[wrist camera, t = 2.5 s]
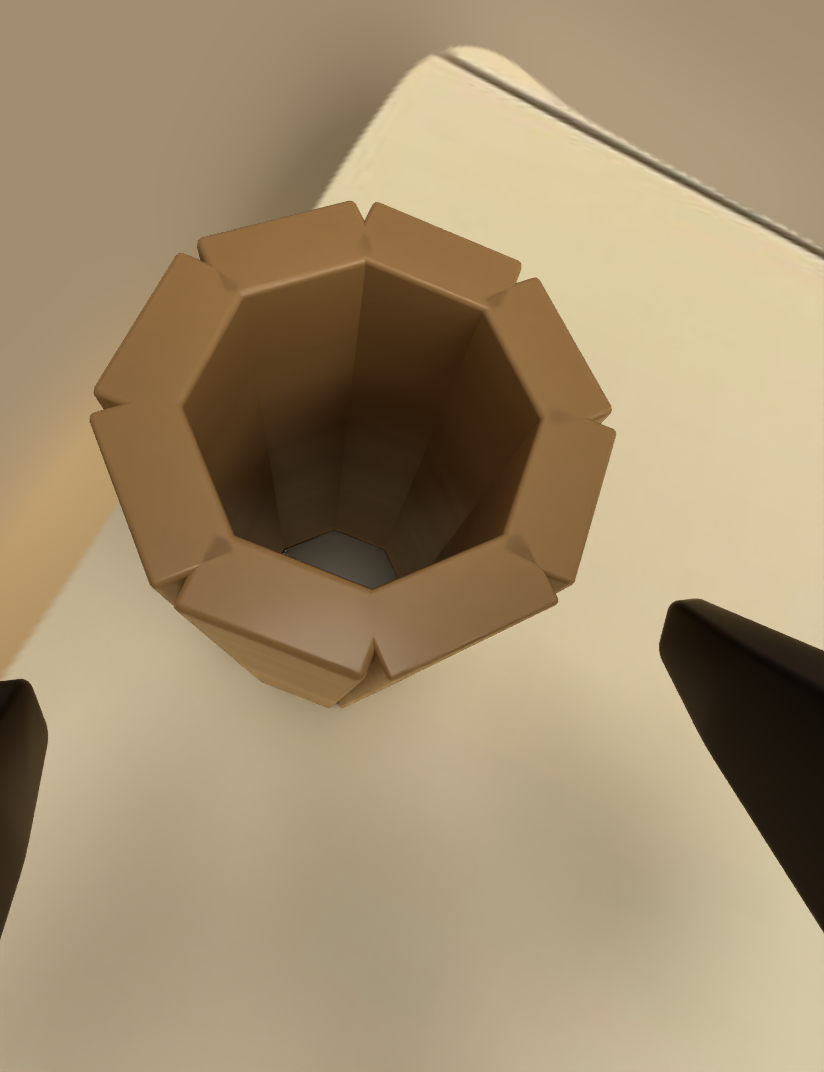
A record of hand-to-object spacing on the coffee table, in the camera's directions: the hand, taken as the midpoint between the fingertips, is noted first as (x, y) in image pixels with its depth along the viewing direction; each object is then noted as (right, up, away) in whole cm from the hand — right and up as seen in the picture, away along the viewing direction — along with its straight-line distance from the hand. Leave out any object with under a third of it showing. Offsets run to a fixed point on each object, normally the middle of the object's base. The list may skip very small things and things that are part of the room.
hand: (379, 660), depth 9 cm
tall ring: (-2, 0, +10) cm, 10 cm away
